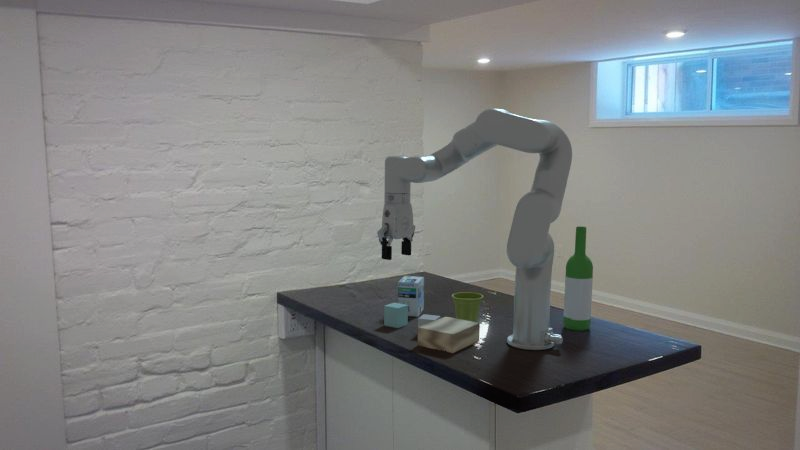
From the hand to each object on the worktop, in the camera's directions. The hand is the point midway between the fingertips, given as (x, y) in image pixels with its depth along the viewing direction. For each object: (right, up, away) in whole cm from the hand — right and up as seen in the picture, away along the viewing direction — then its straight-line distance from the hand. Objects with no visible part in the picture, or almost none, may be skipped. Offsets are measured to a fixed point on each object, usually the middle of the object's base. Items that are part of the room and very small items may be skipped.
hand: (396, 257), depth 207 cm
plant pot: (+21, -20, +5) cm, 30 cm away
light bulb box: (+4, -19, +17) cm, 26 cm away
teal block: (0, -20, +2) cm, 20 cm away
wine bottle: (+53, -21, +1) cm, 57 cm away
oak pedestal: (+14, -23, -15) cm, 31 cm away
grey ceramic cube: (+9, -22, -7) cm, 24 cm away
